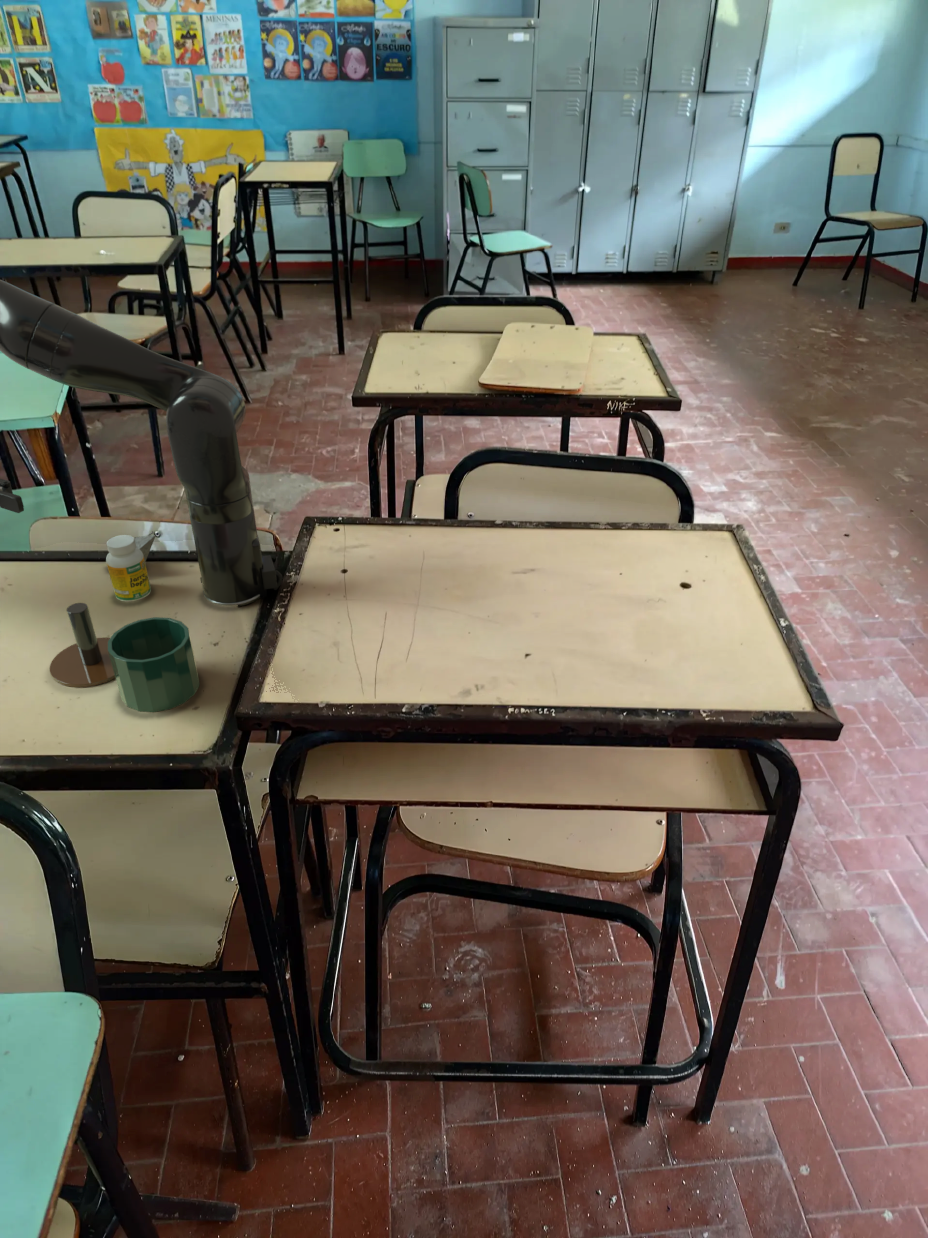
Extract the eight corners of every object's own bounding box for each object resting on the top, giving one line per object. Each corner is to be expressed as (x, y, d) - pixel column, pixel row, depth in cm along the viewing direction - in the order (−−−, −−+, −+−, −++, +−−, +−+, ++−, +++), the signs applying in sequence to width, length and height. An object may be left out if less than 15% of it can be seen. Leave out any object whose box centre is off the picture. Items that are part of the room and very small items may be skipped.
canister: (196, 663, 117) (186, 611, 112) (202, 706, 109) (191, 653, 105) (121, 676, 114) (107, 624, 110) (122, 721, 107) (107, 668, 102)
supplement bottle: (131, 583, 134) (118, 529, 129) (159, 590, 133) (147, 536, 127) (108, 600, 130) (93, 545, 125) (136, 607, 129) (122, 552, 123)
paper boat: (85, 559, 138) (124, 524, 143) (115, 588, 141) (152, 552, 146) (113, 545, 129) (153, 507, 135) (144, 575, 132) (182, 538, 137)
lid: (134, 637, 122) (120, 580, 117) (136, 682, 114) (120, 622, 108) (53, 651, 119) (35, 593, 114) (49, 697, 111) (29, 637, 105)
